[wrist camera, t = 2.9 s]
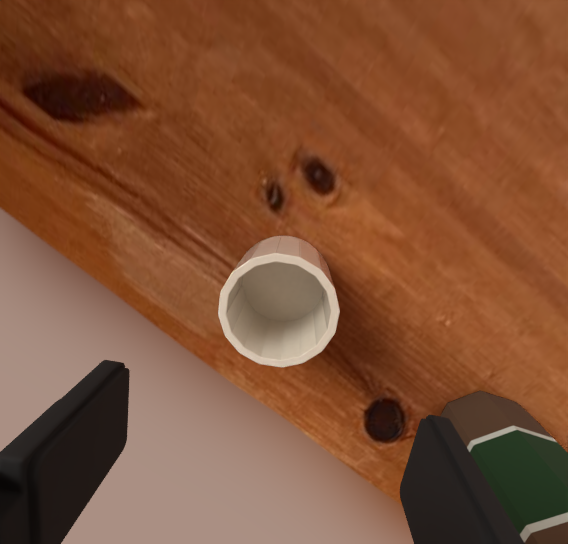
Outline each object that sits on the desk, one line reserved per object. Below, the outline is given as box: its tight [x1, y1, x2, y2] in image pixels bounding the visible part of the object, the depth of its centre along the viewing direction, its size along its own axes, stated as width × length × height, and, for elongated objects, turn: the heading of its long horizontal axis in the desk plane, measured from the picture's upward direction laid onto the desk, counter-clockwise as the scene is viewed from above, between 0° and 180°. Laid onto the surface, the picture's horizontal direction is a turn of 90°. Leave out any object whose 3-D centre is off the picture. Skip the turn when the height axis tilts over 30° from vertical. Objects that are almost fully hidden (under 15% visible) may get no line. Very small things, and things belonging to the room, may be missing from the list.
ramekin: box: [218, 236, 340, 367], centre depth 23 cm, size 7×7×6 cm
